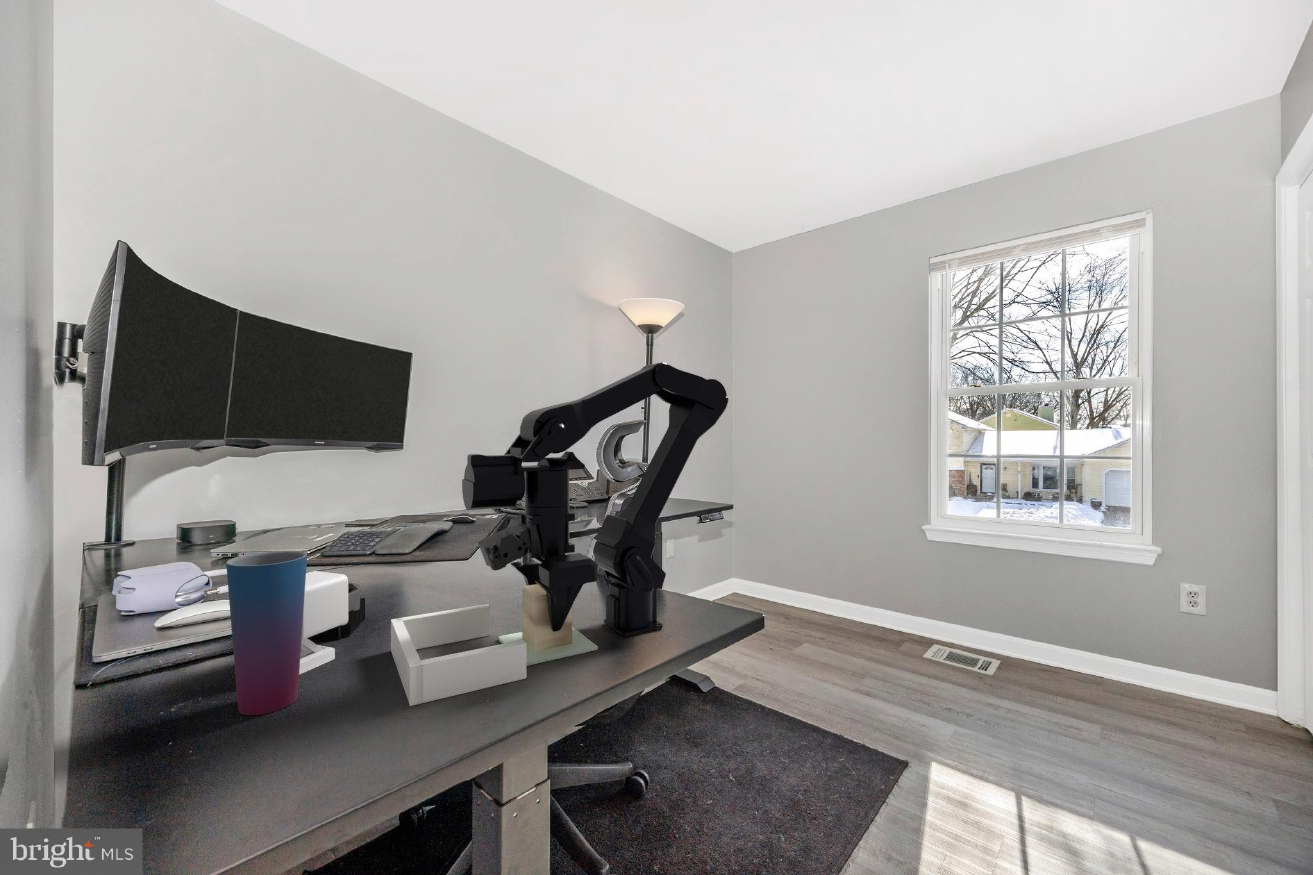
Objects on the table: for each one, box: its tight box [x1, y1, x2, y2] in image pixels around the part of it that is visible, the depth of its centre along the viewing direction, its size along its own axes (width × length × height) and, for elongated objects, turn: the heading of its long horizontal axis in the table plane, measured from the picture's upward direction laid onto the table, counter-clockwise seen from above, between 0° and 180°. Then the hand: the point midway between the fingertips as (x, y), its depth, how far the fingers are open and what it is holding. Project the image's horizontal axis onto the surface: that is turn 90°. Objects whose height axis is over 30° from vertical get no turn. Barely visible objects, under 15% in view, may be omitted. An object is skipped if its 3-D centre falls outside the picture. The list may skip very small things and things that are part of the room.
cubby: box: [390, 603, 527, 707], centre depth 67 cm, size 12×16×4 cm
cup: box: [225, 550, 308, 716], centre depth 57 cm, size 7×7×15 cm
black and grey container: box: [307, 581, 366, 642], centre depth 78 cm, size 10×6×10 cm
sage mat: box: [497, 626, 599, 667], centre depth 73 cm, size 10×10×1 cm
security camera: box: [299, 570, 349, 676], centre depth 67 cm, size 6×7×10 cm
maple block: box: [521, 584, 573, 652], centre depth 73 cm, size 5×5×7 cm
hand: (547, 623), depth 73 cm, fingers open, 6 cm apart
